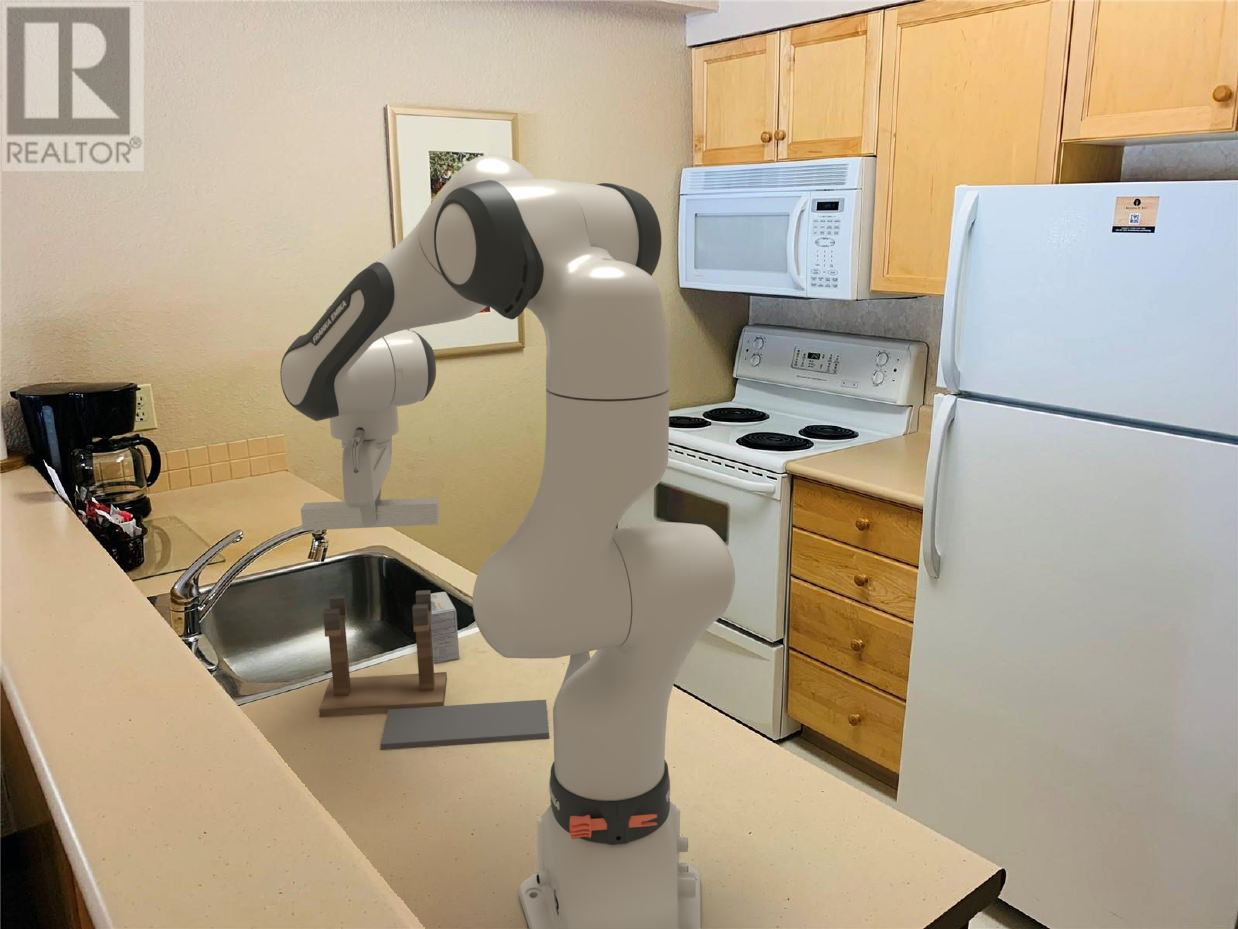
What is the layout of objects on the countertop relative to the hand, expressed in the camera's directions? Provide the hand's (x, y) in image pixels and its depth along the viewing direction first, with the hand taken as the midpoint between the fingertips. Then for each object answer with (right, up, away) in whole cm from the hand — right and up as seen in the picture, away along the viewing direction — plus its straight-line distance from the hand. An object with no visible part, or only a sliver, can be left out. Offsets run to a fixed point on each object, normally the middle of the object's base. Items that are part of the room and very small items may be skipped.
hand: (372, 519), depth 131 cm
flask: (+28, -27, +5) cm, 39 cm away
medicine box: (+5, -23, +21) cm, 32 cm away
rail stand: (0, -26, +7) cm, 27 cm away
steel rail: (0, -1, 0) cm, 1 cm away
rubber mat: (+13, -28, -1) cm, 31 cm away
